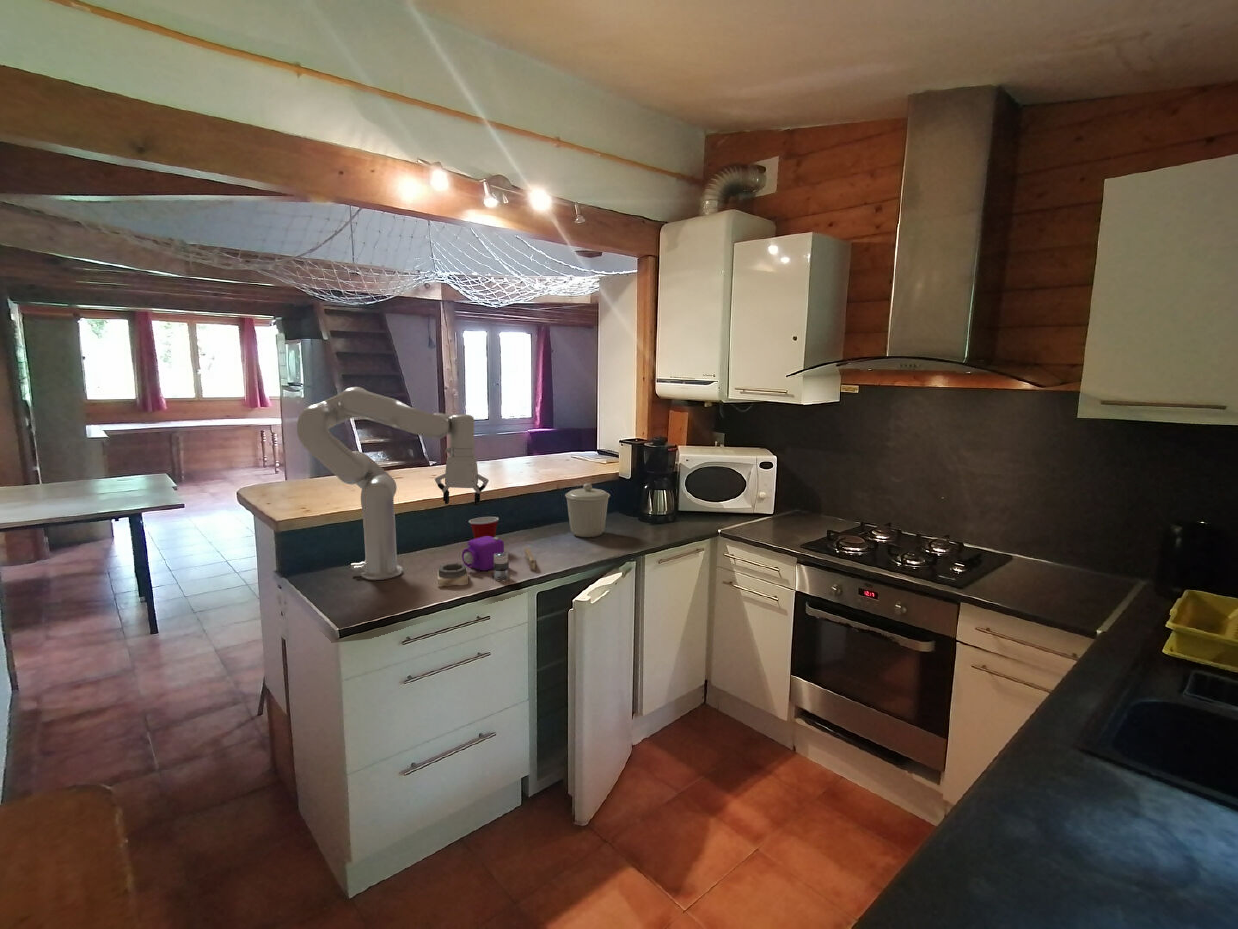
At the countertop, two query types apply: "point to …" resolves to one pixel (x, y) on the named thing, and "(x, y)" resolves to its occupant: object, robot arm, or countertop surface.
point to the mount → (452, 574)
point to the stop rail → (530, 559)
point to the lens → (501, 566)
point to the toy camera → (482, 552)
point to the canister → (587, 511)
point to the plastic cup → (484, 526)
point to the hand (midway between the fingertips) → (461, 503)
